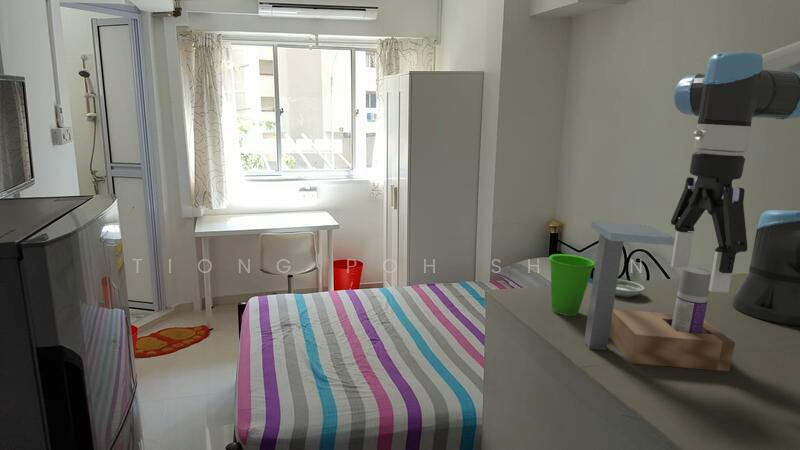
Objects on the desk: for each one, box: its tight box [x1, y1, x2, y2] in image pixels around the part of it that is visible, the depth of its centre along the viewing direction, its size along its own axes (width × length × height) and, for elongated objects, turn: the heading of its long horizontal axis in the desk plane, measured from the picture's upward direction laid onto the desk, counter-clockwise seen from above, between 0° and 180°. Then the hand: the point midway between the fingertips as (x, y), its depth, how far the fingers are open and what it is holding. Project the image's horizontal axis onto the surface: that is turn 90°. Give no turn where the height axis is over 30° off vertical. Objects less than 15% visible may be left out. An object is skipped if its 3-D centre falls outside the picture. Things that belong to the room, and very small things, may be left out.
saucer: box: [615, 278, 645, 298], centre depth 128 cm, size 10×10×2 cm
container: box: [671, 266, 712, 333], centre depth 95 cm, size 5×5×15 cm
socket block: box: [608, 308, 736, 372], centre depth 96 cm, size 16×12×5 cm
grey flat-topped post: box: [583, 220, 675, 351], centre depth 94 cm, size 10×10×21 cm
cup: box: [548, 253, 596, 316], centre depth 112 cm, size 9×9×11 cm
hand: (697, 278), depth 94 cm, fingers open, 13 cm apart
